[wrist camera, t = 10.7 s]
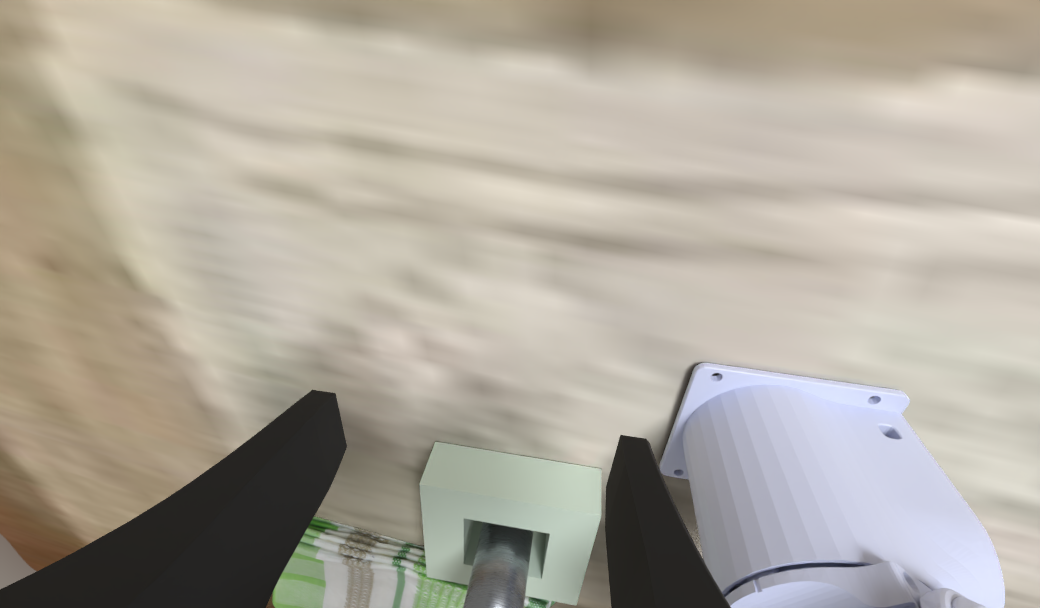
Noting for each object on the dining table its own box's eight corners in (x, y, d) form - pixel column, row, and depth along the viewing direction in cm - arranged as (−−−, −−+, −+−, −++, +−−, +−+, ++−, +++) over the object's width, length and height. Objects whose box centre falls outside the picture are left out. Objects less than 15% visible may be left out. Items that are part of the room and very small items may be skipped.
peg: (529, 485, 29) (504, 652, 22) (541, 517, 31) (523, 682, 23) (481, 488, 30) (441, 649, 22) (496, 518, 32) (463, 678, 24)
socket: (601, 468, 27) (601, 515, 25) (578, 559, 33) (576, 605, 30) (435, 441, 28) (419, 484, 26) (440, 534, 34) (427, 577, 31)
